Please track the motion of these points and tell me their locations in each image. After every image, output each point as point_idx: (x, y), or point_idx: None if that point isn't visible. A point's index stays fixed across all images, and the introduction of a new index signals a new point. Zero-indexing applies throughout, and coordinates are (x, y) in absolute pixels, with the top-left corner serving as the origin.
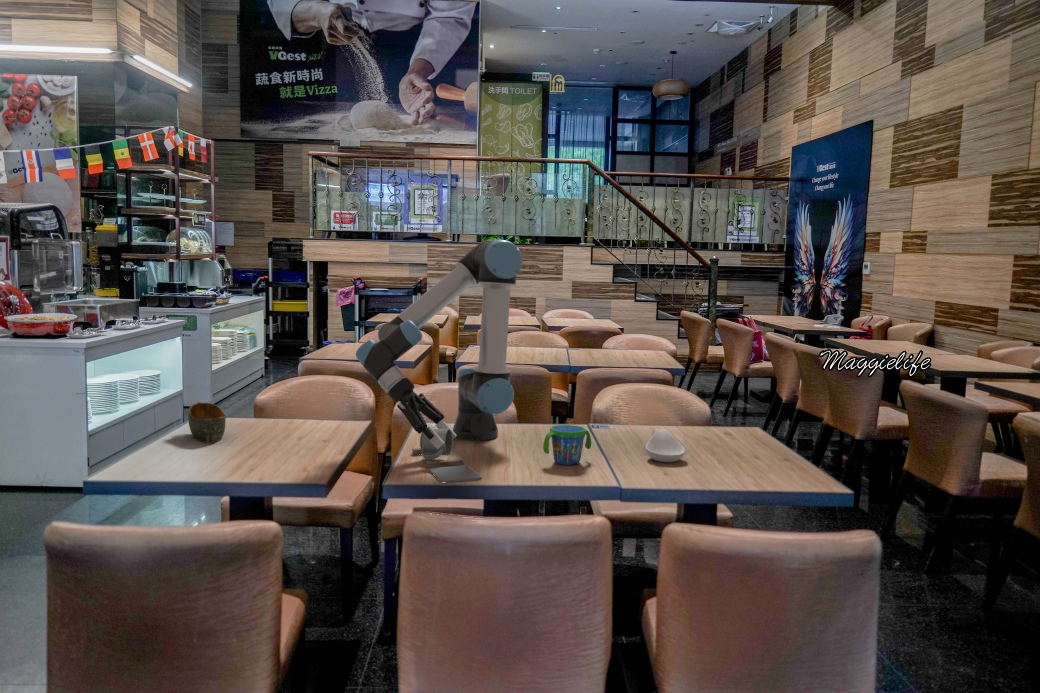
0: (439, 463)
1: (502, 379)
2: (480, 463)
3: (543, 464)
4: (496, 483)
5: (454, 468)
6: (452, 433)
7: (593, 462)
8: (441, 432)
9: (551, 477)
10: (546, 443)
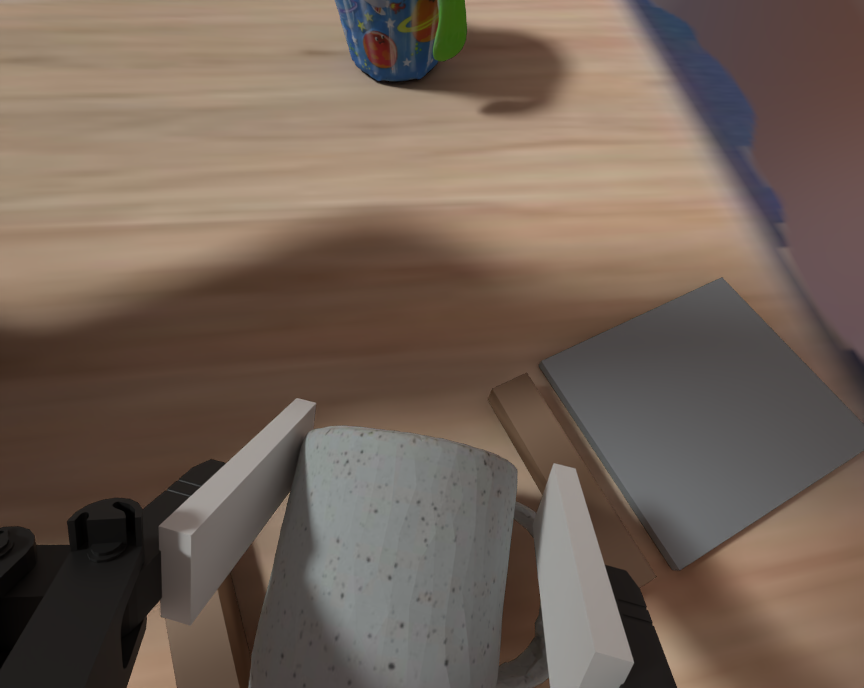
0: (607, 504)
1: None
2: (452, 310)
3: (431, 112)
4: (740, 232)
5: (624, 411)
6: (298, 427)
7: None
8: (468, 499)
9: (592, 96)
10: (460, 9)
